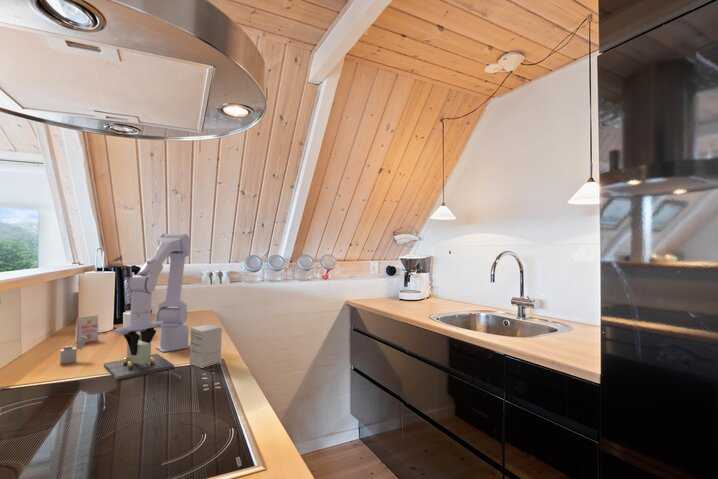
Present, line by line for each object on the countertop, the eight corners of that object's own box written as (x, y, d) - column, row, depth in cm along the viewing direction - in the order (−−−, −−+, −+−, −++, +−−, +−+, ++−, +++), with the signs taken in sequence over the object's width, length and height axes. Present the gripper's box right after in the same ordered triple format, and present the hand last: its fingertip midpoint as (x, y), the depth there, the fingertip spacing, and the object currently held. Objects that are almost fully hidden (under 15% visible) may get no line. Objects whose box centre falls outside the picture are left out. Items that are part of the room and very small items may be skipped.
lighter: (60, 364, 120) (61, 339, 120) (59, 362, 121) (60, 338, 121) (87, 359, 125) (88, 336, 125) (86, 358, 126) (87, 335, 126)
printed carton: (75, 341, 146) (76, 316, 146) (95, 338, 151) (96, 314, 151) (76, 343, 143) (77, 318, 143) (97, 340, 148) (98, 316, 148)
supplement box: (208, 359, 130) (210, 323, 130) (221, 364, 125) (222, 327, 125) (188, 364, 124) (190, 327, 124) (201, 369, 119) (202, 330, 119)
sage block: (136, 357, 123) (136, 339, 123) (150, 361, 119) (151, 343, 119) (126, 360, 120) (127, 341, 120) (141, 364, 116) (141, 345, 117)
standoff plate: (156, 356, 131) (157, 348, 131) (173, 367, 120) (174, 358, 120) (103, 366, 119) (103, 357, 119) (116, 380, 108) (117, 369, 108)
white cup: (127, 339, 152) (128, 315, 152) (118, 336, 156) (119, 312, 156) (147, 335, 158) (148, 312, 158) (138, 332, 163) (139, 310, 163)
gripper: (154, 307, 128) (153, 346, 128) (110, 313, 115) (108, 356, 115) (167, 309, 125) (166, 349, 125) (123, 316, 112) (121, 360, 112)
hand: (139, 353), depth 120 cm, fingers closed on sage block, 3 cm apart
